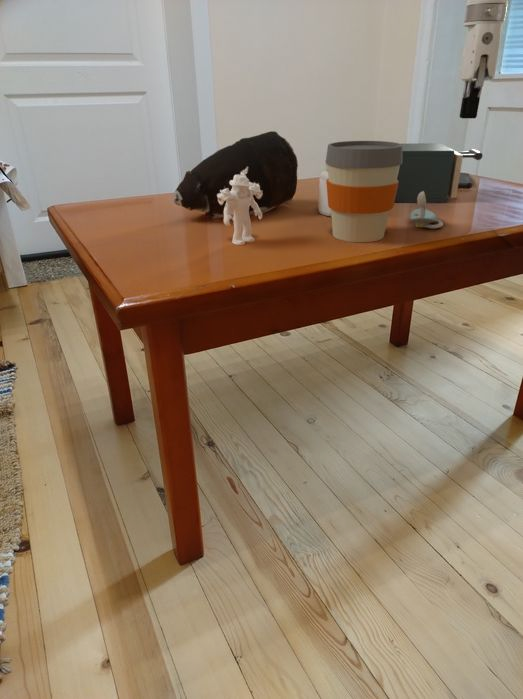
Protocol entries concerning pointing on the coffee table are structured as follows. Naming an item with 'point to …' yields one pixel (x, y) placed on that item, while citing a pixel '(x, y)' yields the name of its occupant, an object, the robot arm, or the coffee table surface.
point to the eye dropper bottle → (323, 193)
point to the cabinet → (424, 172)
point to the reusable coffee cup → (362, 187)
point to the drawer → (457, 167)
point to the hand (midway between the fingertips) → (467, 117)
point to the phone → (465, 180)
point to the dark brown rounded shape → (218, 169)
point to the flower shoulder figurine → (240, 206)
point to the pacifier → (424, 215)
